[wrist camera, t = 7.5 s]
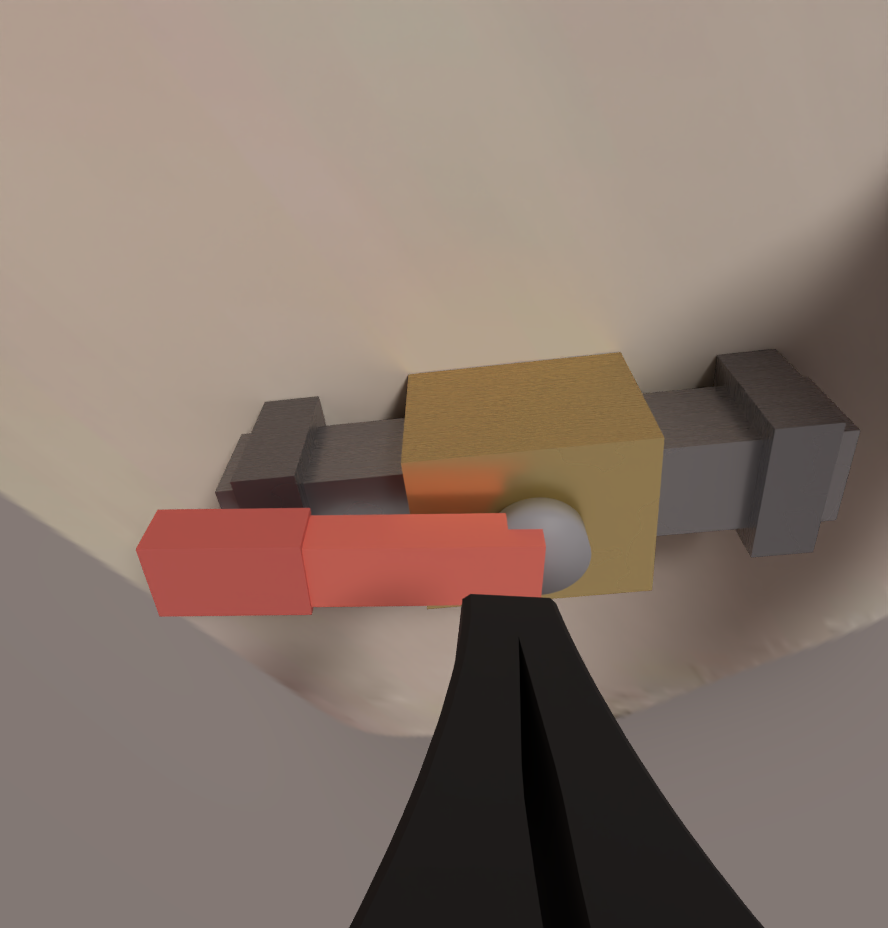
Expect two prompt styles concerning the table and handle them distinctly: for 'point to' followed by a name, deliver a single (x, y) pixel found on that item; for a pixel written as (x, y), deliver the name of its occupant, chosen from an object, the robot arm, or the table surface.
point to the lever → (356, 558)
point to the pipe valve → (572, 456)
